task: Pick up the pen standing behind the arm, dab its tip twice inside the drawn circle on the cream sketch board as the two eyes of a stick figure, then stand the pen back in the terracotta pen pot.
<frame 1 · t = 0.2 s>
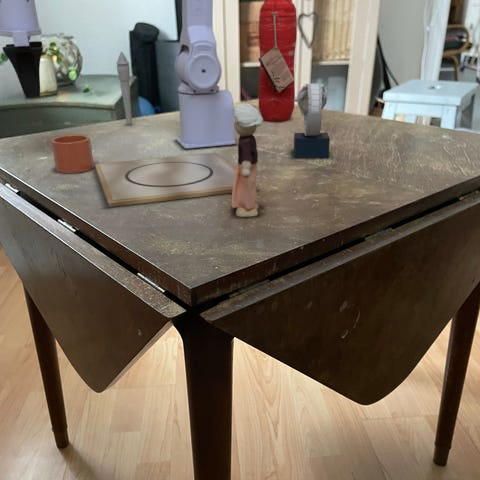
hand: (33, 93, 87), 10 cm above the table, tool pointing down, fingers open, 7 cm apart
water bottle: (275, 121, 116), on the table
pen pot: (75, 168, 86), on the table
watch: (310, 155, 91), on the table
grandmother figurine: (246, 213, 67), on the table
sketch board: (169, 178, 80), on the table
pen: (130, 125, 115), on the table
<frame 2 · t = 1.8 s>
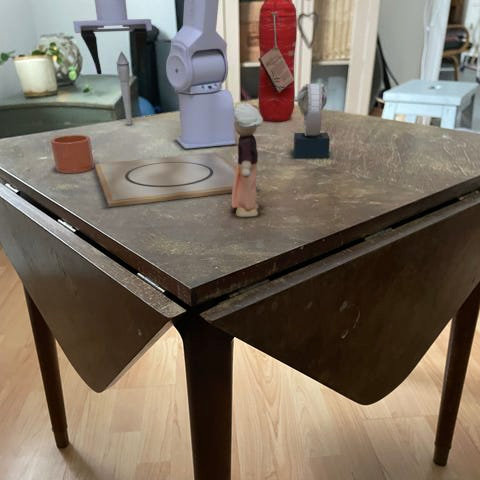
hand: (118, 72, 108), 10 cm above the table, tool pointing down, fingers open, 7 cm apart
nothing on the table moved.
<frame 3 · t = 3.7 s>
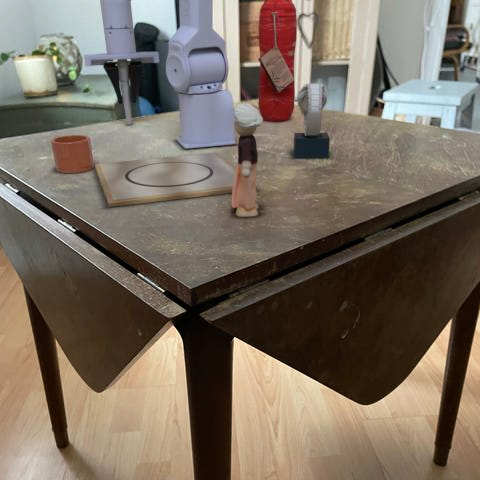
hand: (127, 102, 112), 4 cm above the table, tool pointing down, fingers closed on pen, 2 cm apart
pen: (130, 125, 115), on the table, touching gripper
everything else where it was.
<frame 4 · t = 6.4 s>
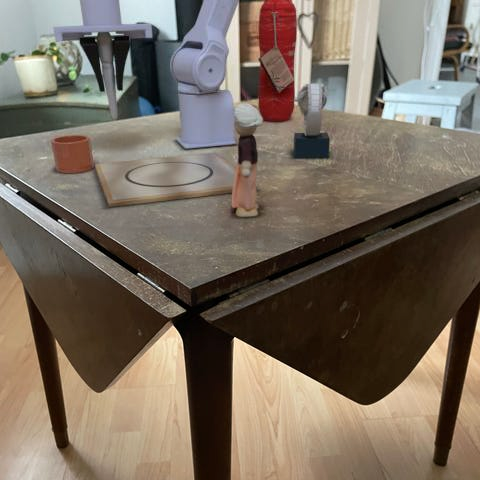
hand: (111, 90, 87), 10 cm above the table, tool pointing down, fingers closed on pen, 2 cm apart
pen: (115, 120, 89), point 6 cm above the table, touching gripper
everything else where it was.
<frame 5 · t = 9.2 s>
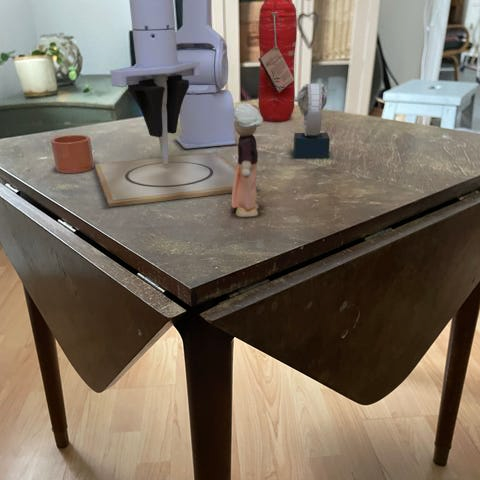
hand: (163, 134, 79), 6 cm above the table, tool pointing down, fingers closed on pen, 2 cm apart
pen: (166, 165, 82), point 1 cm above the table, touching gripper
everything else where it was.
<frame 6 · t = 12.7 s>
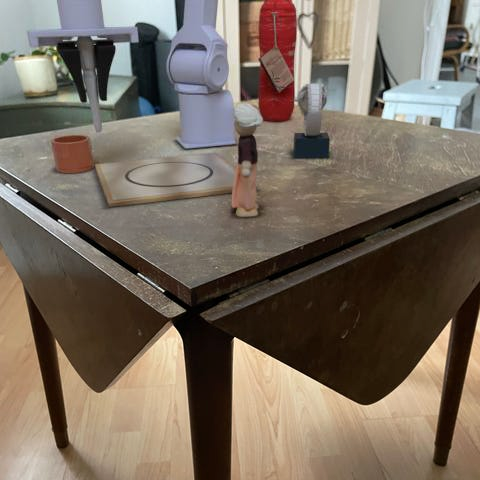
hand: (93, 100, 78), 10 cm above the table, tool pointing down, fingers closed on pen, 2 cm apart
pen: (99, 133, 80), point 6 cm above the table, touching gripper
everything else where it was.
when the fingers open (5 cm above the table, at t = 15.1 s): pen stays where it is, resting on pen pot.
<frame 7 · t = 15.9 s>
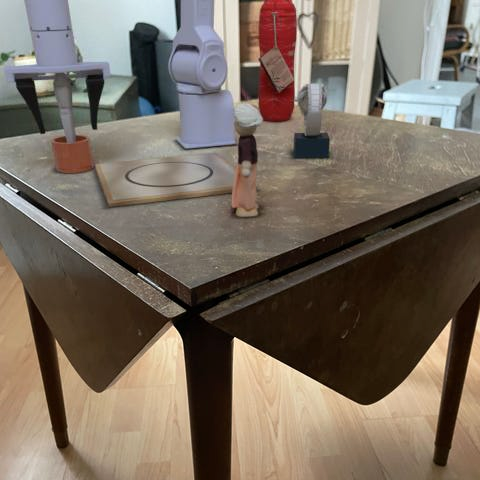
hand: (69, 130, 83), 6 cm above the table, tool pointing down, fingers open, 7 cm apart
pen: (75, 165, 86), resting on pen pot
everything else where it was.
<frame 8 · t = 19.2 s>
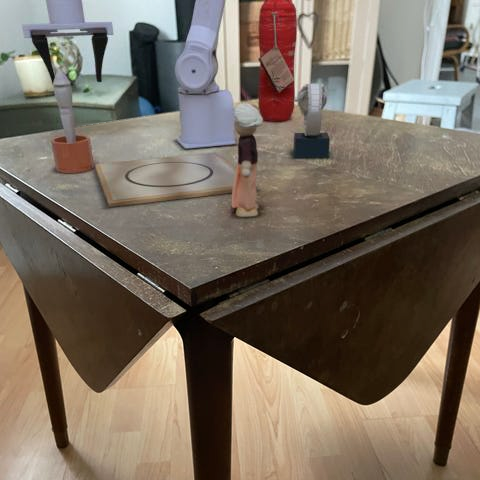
hand: (77, 82, 95), 10 cm above the table, tool pointing down, fingers open, 7 cm apart
nothing on the table moved.
at the end: pen 0.1 cm off-centre in the pen pot, point 0.4 cm above the pen pot's base; pen tilted 0°; the gripper is holding nothing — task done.
